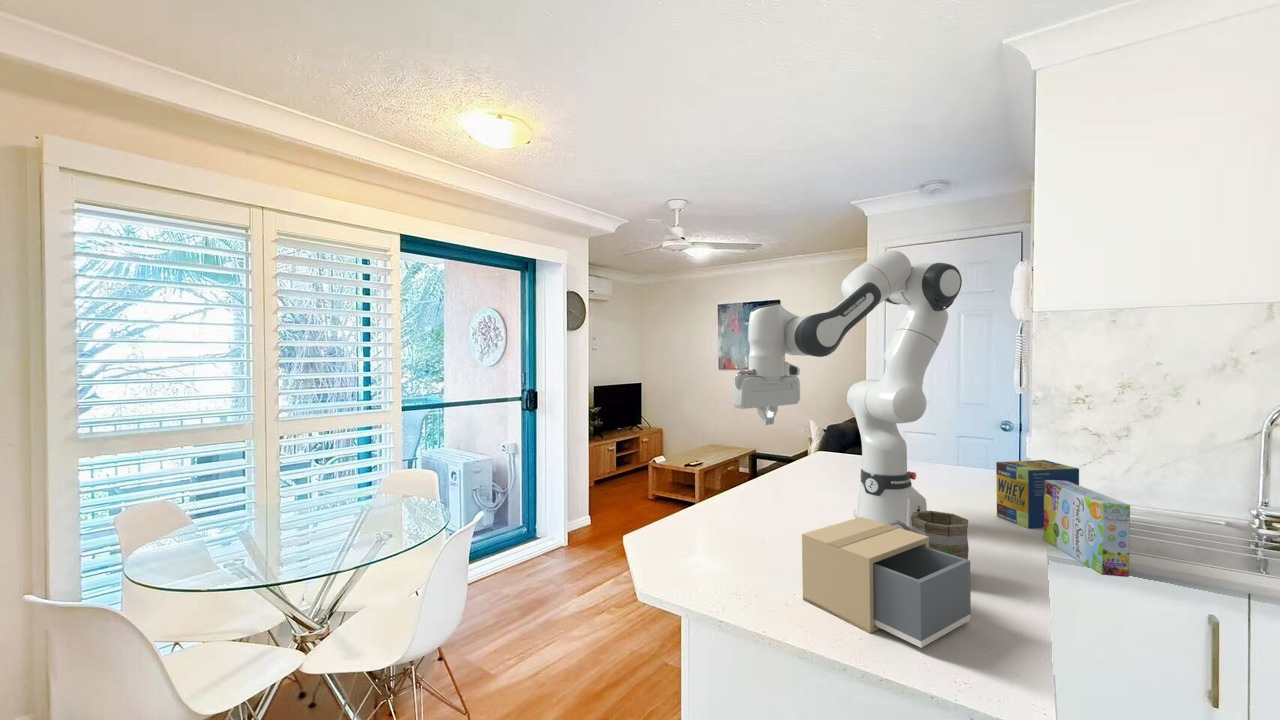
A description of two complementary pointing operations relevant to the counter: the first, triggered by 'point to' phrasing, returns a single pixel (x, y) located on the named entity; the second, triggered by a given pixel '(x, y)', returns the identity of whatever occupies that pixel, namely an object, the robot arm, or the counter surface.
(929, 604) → the mailer tray
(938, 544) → the mug
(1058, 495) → the snack box
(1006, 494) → the protein box
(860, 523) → the mailer sleeve
